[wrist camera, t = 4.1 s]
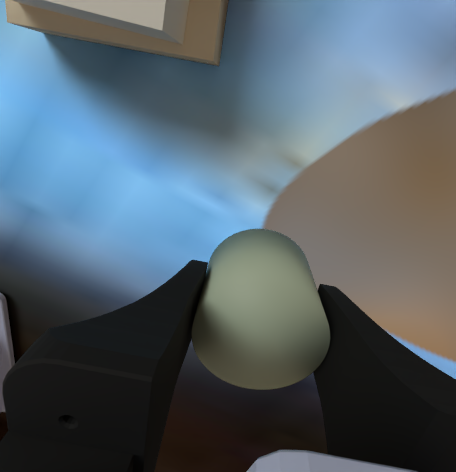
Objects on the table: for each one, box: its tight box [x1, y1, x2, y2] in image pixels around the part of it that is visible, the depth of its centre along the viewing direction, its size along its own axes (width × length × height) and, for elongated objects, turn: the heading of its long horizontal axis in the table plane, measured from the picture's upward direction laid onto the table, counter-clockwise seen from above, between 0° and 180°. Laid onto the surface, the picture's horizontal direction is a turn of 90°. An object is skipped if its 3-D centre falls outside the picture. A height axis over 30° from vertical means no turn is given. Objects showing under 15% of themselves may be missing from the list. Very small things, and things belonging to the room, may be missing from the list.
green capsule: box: [192, 229, 330, 390], centre depth 12 cm, size 4×4×4 cm
